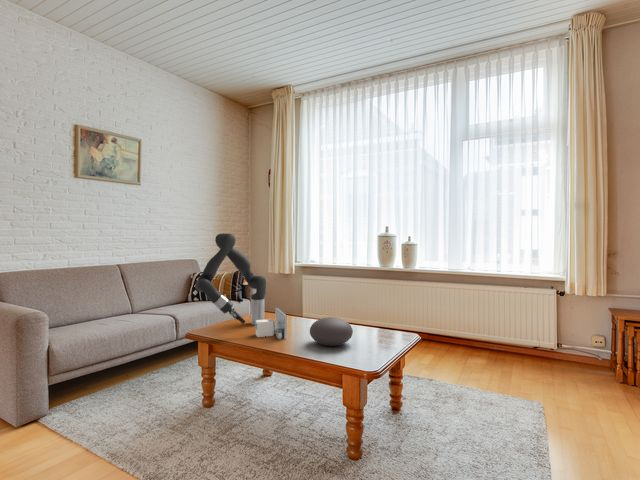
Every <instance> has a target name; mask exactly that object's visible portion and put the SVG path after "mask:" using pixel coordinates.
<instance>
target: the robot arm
mask: <svg viewBox="0 0 640 480" xmlns="http://www.w3.org/2000/svg"><path fill="white" fill-rule="evenodd" d="M236 242H237V241H236V237H235V235H234V234H233V233H225V232H224V233H218V234H217V235H216V236H215V244H216V246H217V247H218V248H219V250H218V251H217V253H215V254H214V256H212V257H211V258H210V259H209V260H208V262H207V263H206V265H205V268H204V269H203V271H202V273H201V274H200V276H199V277H198V278H197V280H196V282H195V284H194V288H195V290H196V292H198V293H202V292H203V293H204V294H205V295H206V298H207V299H208V300H209V302H211V303H212V304H213V305H214V306H215V307H216V308H217V309H218V310H219V311H221V312H222V313H223V314H227V313H228V314H229V316H231V317H233V318H234V319H235V320H236V321H239V322H240V323H241V324H242V325H244V324H245V323H246V320H245V319H244V318H243V317H242V316H241V315H240V314H239V312H238V311H237V310H236V308H233V307H234V302H232V301H231V300H229V299H228V297H226V296H225V295H223V294H222V293H221V292H220V291H219V290H218V289H217V288H216V287H215V285H214V284H213V283H212V282H211V280H212V279H213V278H214V277H215V275H216V274H217V272H218V270H219V269H220V266H221V265H222V263H223V261H224V260H225V259H226V257H227V258H228V259H229V260H230V261H231V262H232V264H233V265H234V267H235V268H236V269H237V270H238V271H239V273H240V275H241V276H243V278H244V280H245V282H246V283H247V285H248V286H249V288H251V289H253V290H255V293H253V294H251V296H250V325H254V326H255V323H256V320H265V295H266V292H267V291H266V289H267V279H266V277H265V276H263V275H256V274H254V272H252V270H251V261H249V259H248V258H247V256H246V255H245V254H244V253H242V252H241V251H239V250H238V249H236V248H235V247H234V246H235V245H236Z"/></svg>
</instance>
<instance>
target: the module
mask: <svg viewBox="0 0 640 480" xmlns="http://www.w3.org/2000/svg"><path fill="white" fill-rule="evenodd" d="M274 325H275V320H273V318H267V319H264V320H256V323H255V325H254V328H255V336H256V337H257V338H263V337H264V338H265V336H266V337H274V336H275V334H274Z"/></svg>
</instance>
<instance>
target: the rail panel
mask: <svg viewBox="0 0 640 480" xmlns="http://www.w3.org/2000/svg"><path fill="white" fill-rule="evenodd" d="M274 312H275V314H274V315H275V318H274V319H275V320H274V336H275V337H276V338H277V339H278V340H282V339H284V340H287V335H288V334H287V331H288V330H287V327H288V326H287V324H288V322H287V318H288V317H287V314H285V313H284V312H283V310H281V309H279V308H278V307H275V311H274Z"/></svg>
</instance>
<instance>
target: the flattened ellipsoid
mask: <svg viewBox="0 0 640 480" xmlns="http://www.w3.org/2000/svg"><path fill="white" fill-rule="evenodd" d="M353 331H354V330H353V328H352V325H351V324H350V323H349V322H348V321H347V320H345V319H342V318H340V317H333V316H329V317H327V316H326V317H322V318H319V319H317V320H316V321H314V322H313V323H312V324H311V326H310V327H309V335H310V337H311V338H312V340H314V341H315V342H316V343H318V344H321V345H324V346H329V347H330V346H331V347H333V346H335V347H336V346H340V345H342V344H346V343H347V342H349V340H351V339H352V337H353V333H354V332H353Z"/></svg>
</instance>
